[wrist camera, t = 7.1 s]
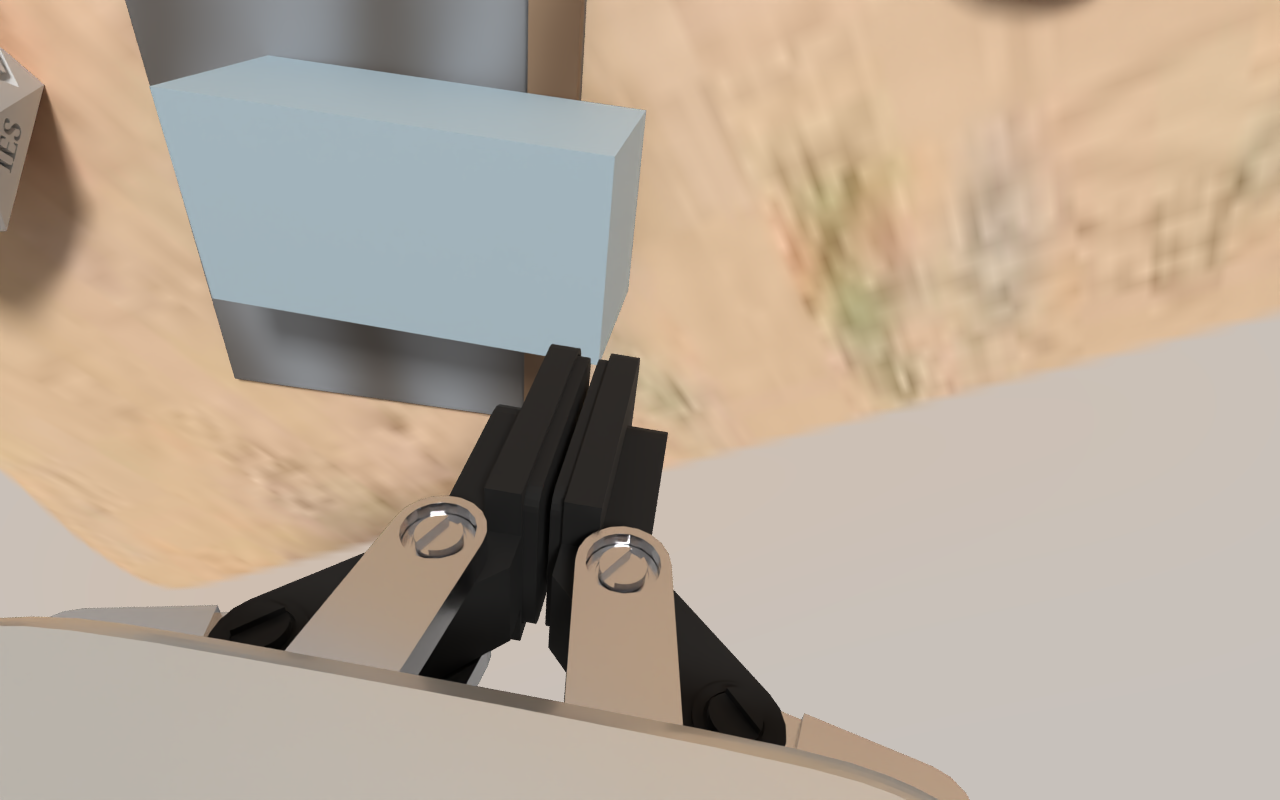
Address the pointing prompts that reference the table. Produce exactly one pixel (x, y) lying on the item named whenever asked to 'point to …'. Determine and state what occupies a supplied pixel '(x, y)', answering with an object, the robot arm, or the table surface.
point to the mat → (394, 43)
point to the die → (15, 127)
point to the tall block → (408, 200)
